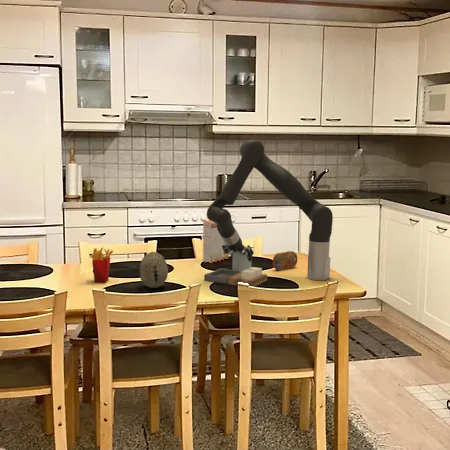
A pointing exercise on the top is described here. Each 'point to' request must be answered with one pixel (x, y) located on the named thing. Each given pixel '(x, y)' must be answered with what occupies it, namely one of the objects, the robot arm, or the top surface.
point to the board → (253, 282)
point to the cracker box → (212, 243)
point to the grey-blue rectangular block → (240, 262)
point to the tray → (220, 275)
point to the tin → (285, 260)
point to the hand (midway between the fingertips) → (242, 258)
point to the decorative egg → (153, 270)
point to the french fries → (101, 265)
